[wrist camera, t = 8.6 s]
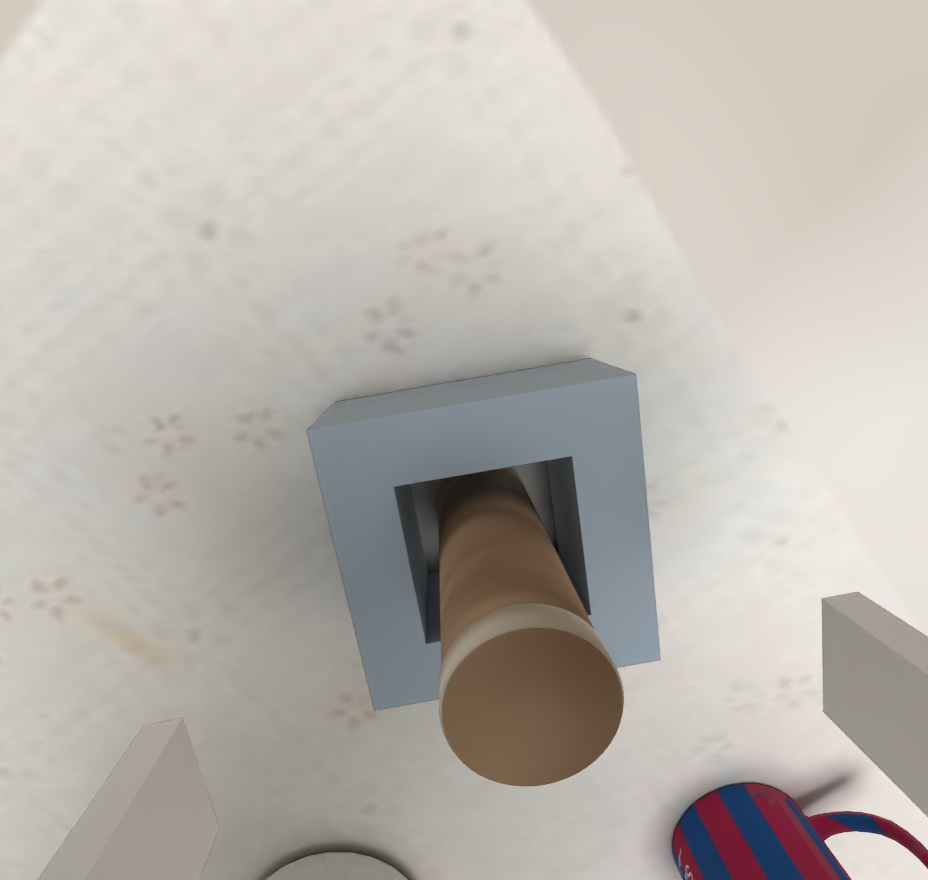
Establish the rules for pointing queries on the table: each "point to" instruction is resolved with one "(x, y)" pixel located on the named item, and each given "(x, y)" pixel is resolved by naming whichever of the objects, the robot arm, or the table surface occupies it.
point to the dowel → (516, 641)
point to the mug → (337, 868)
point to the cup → (768, 837)
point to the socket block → (475, 450)
